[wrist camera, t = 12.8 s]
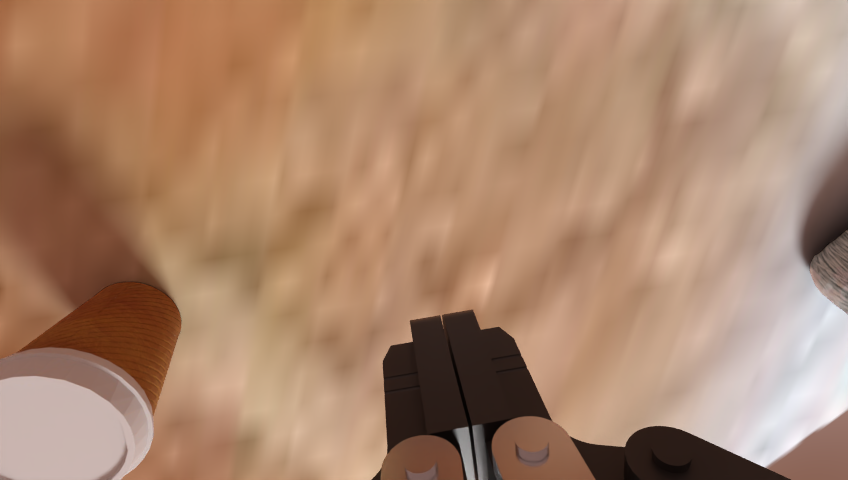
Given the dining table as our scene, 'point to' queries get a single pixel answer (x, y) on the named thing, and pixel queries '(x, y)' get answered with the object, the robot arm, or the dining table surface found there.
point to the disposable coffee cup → (88, 388)
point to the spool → (833, 271)
